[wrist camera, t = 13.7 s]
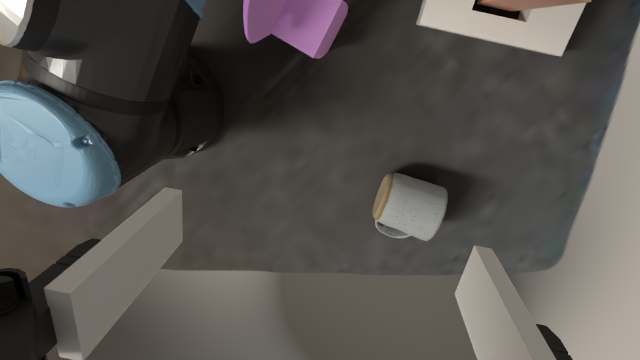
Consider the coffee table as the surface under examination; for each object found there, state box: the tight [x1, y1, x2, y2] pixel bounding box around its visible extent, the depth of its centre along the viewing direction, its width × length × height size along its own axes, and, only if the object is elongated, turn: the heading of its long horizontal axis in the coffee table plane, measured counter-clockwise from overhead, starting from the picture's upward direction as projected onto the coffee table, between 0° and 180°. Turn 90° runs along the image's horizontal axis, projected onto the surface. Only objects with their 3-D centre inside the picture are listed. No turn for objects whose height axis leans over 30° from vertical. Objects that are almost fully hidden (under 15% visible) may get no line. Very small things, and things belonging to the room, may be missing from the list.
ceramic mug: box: [373, 173, 448, 241], centre depth 48 cm, size 11×8×8 cm
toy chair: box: [243, 0, 349, 59], centre depth 36 cm, size 8×9×15 cm
